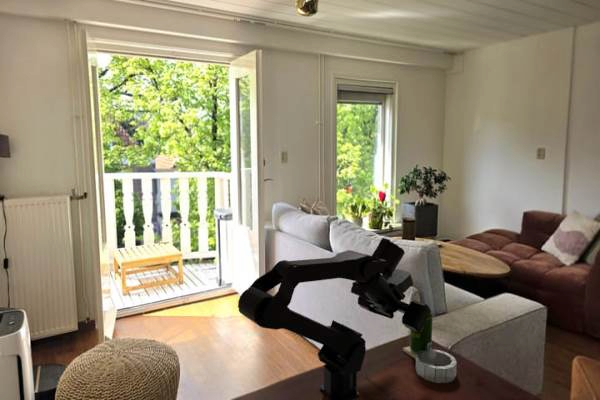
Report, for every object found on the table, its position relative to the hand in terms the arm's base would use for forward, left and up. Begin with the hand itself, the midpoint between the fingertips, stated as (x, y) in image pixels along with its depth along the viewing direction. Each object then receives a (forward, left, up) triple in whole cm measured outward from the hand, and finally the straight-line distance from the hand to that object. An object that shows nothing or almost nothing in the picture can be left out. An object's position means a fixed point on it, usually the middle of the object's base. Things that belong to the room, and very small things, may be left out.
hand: (406, 323), depth 104 cm
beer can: (+6, +1, -9) cm, 11 cm away
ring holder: (+3, -7, -10) cm, 13 cm away
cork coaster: (+6, +1, -10) cm, 12 cm away
